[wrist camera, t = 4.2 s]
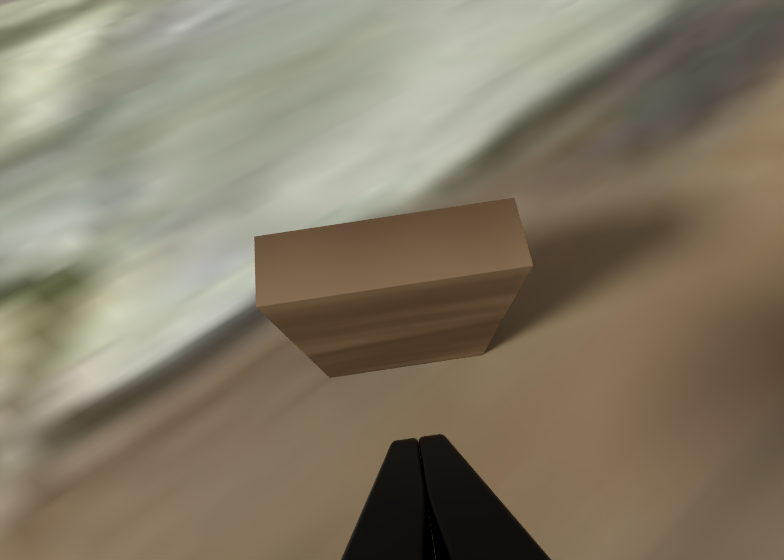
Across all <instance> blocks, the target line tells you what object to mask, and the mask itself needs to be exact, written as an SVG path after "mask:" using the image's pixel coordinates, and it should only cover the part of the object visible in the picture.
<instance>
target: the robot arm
mask: <svg viewBox="0 0 784 560" xmlns="http://www.w3.org/2000/svg"><path fill="white" fill-rule="evenodd" d="M419 449H420V451H419ZM420 456H421V458H420ZM421 463H422V464H421ZM422 470H423V471H422ZM423 476H424V477H423ZM424 483H425V484H424ZM427 503H428V504H427ZM428 510H429V511H428ZM429 516H430V518H429ZM430 523H431V524H430ZM431 530H432V531H431ZM432 536H433V538H432ZM433 543H434V545H433ZM434 550H435V552H434ZM435 556H436V558H435ZM341 560H551V559H550V558H549V557H548V556H547V554H546V553H545V552H544V551H543V550H542V549H541V547H540V546H539V545H538V544H537V543H536V542H535V540H534V539H533V538H532V537H531V536H530V535H529V533H528V532H527V531H526V530H525V529H524V528H523V526H522V525H521V524H520V523H519V522H518V521H517V519H516V518H515V517H514V516H513V515H512V514H511V512H510V511H509V510H508V509H507V508H506V507H505V505H504V504H503V503H502V502H501V501H500V500H499V498H498V497H497V496H496V495H495V494H494V493H493V491H492V490H491V489H490V488H489V487H488V486H487V484H486V483H485V482H484V481H483V480H482V479H481V477H480V476H479V475H478V474H477V473H476V472H475V470H474V469H473V468H472V467H471V466H470V465H469V464H468V462H467V461H466V460H465V459H464V458H463V457H462V455H461V454H460V453H459V452H458V451H457V450H456V448H455V447H454V446H453V445H452V444H451V443H450V441H449V440H448V439H447V438H446V437H445V436H444V435H442V434H438V435H431V436H424V437H421V438H420V439H419V444H418V441H417V439H415V438H410V439H404V440H397V441H394V442H393V443H392V444H391V446H390V448H389V450H388V452H387V455H386V457H385V459H384V462H383V464H382V466H381V468H380V471H379V473H378V475H377V478H376V480H375V482H374V485H373V487H372V489H371V492H370V494H369V496H368V499H367V501H366V503H365V505H364V508H363V510H362V512H361V515H360V517H359V519H358V522H357V524H356V526H355V529H354V531H353V533H352V536H351V538H350V540H349V542H348V545H347V547H346V549H345V552H344V554H343V556H342V559H341Z"/></svg>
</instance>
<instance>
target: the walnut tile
mask: <svg viewBox="0 0 784 560" xmlns="http://www.w3.org/2000/svg"><path fill="white" fill-rule="evenodd" d="M254 239H255V281H256V307H257V308H258V309H259V310H260V311H261V312H262V313H263V314H264V315H265V316H266V317H267V318H268V319H269V320H270V321H271V322H272V323H273V324H274V325H275V326H276V327H277V328H279V329H280V330H281V331H282V332H283V333H284V334H285V335H286V336H287V337H288V338H289V339H290V340H291V341H292V342H293V343H294V344H295V345H296V346H297V347H298V348H299V349H300V350H302V351H303V352H304V353H305V354H306V355H307V356H308V357H309V358H310V359H311V360H312V361H313V362H314V363H315V364H316V365H317V366H318V367H319V368H320V369H321V370H322V371H323V372H324V373H326V374H327V375H328V376H329V377H330V378H331V377H338V376H345V375H351V374H358V373H365V372H371V371H378V370H385V369H392V368H398V367H405V366H412V365H418V364H425V363H432V362H439V361H445V360H452V359H459V358H465V357H472V356H479V355H483V354H484V352H485V350H486V348H487V347H488V345H489V343H490V341H491V339H492V338H493V336H494V334H495V332H496V331H497V329H498V327H499V325H500V324H501V322H502V320H503V318H504V317H505V315H506V313H507V311H508V309H509V308H510V306H511V304H512V302H513V301H514V299H515V297H516V295H517V294H518V292H519V290H520V288H521V287H522V285H523V283H524V281H525V279H526V278H527V276H528V274H529V272H530V271H531V269H532V267H533V263H532V259H531V256H530V252H529V249H528V245H527V241H526V238H525V234H524V231H523V227H522V224H521V220H520V216H519V213H518V209H517V206H516V202H515V199H514V198H510V199H503V200H496V201H490V202H483V203H476V204H470V205H463V206H456V207H450V208H443V209H436V210H430V211H423V212H416V213H410V214H403V215H396V216H389V217H383V218H376V219H369V220H363V221H356V222H349V223H343V224H336V225H329V226H323V227H316V228H309V229H303V230H296V231H289V232H283V233H276V234H269V235H263V236H256V237H254Z"/></svg>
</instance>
